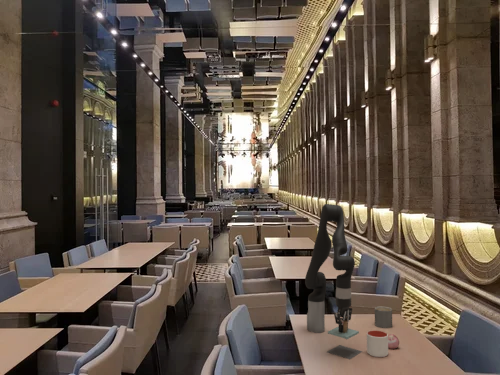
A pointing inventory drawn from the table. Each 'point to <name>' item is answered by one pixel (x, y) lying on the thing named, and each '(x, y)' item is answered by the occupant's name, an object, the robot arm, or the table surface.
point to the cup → (377, 343)
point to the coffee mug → (383, 317)
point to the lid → (345, 333)
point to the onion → (392, 341)
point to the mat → (344, 352)
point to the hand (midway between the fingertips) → (343, 330)
